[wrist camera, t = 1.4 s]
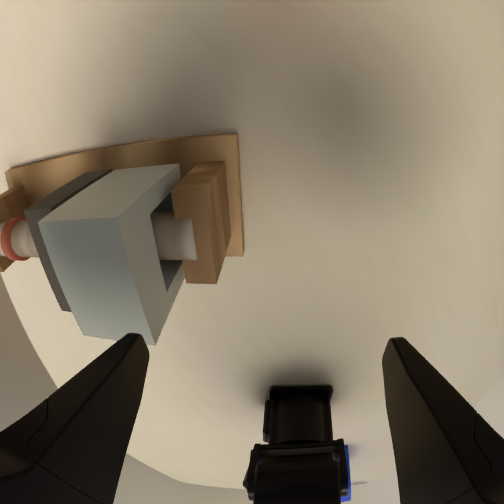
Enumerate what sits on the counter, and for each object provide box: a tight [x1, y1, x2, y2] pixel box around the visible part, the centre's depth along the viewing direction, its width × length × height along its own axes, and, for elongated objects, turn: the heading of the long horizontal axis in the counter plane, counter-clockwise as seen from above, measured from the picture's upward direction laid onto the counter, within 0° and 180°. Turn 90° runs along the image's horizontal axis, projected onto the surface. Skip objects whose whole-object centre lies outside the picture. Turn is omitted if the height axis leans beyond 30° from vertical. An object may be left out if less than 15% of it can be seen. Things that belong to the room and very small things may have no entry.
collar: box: [24, 168, 112, 312], centre depth 15 cm, size 2×6×6 cm, turn 3°
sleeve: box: [38, 164, 185, 345], centre depth 14 cm, size 4×6×7 cm, turn 2°
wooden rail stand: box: [0, 134, 244, 284], centre depth 17 cm, size 20×8×7 cm, turn 92°
